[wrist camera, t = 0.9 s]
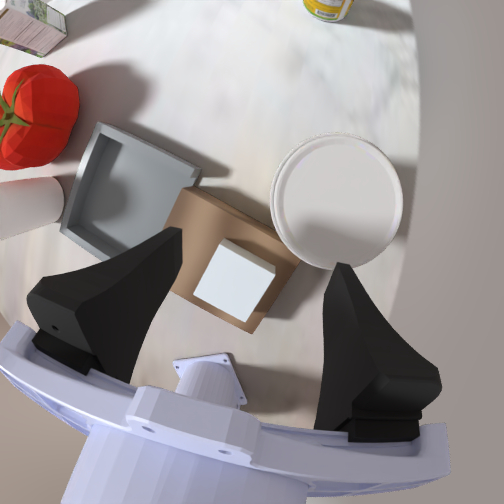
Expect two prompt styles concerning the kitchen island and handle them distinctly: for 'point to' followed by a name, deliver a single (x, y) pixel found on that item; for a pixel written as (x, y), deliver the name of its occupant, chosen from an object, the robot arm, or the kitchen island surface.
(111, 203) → the tray
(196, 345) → the kitchen island surface
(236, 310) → the white block
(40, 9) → the syrup box
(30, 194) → the can
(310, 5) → the supplement bottle
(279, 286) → the brown shallow box
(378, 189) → the coffee cup
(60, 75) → the tomato
